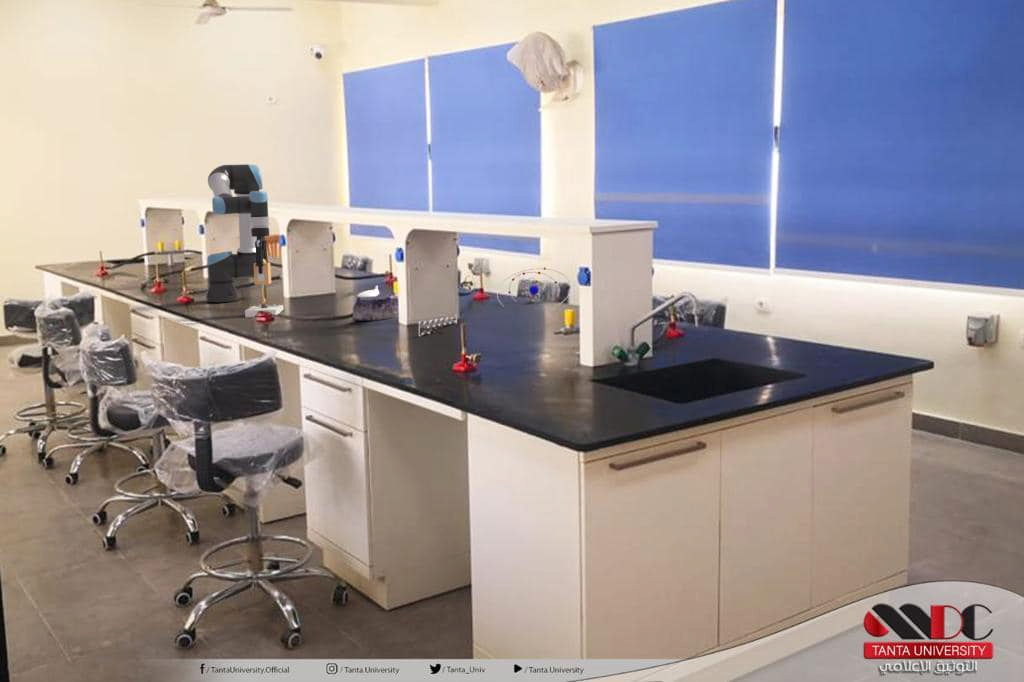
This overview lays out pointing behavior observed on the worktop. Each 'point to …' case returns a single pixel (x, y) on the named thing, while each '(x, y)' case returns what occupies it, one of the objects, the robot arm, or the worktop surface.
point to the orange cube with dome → (266, 273)
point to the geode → (375, 309)
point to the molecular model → (435, 324)
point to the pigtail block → (263, 309)
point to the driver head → (369, 293)
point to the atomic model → (533, 289)
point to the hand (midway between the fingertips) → (262, 280)
